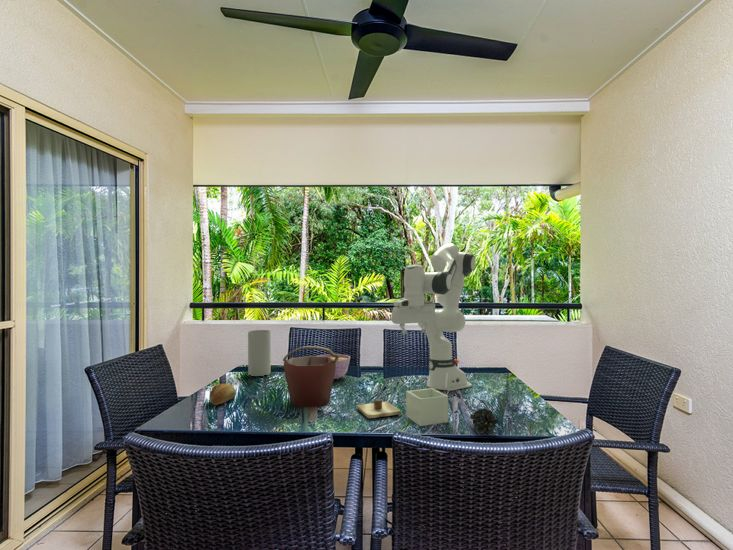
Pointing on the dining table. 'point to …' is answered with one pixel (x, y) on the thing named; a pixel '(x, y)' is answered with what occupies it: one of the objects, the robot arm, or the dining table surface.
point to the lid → (378, 409)
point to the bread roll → (222, 393)
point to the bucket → (310, 378)
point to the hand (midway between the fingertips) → (414, 333)
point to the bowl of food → (340, 364)
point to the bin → (427, 406)
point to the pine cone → (484, 420)
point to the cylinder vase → (259, 353)
